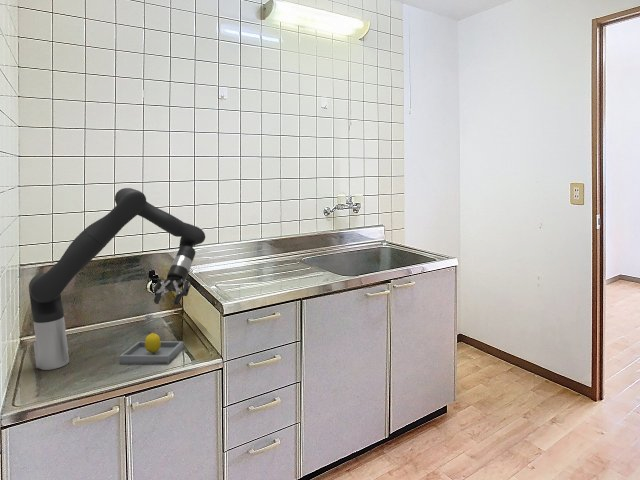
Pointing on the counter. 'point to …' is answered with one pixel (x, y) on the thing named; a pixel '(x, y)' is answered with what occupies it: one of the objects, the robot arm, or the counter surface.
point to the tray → (142, 356)
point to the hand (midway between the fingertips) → (165, 303)
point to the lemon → (152, 343)
